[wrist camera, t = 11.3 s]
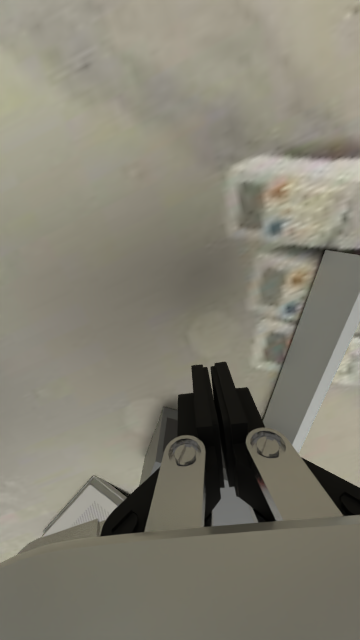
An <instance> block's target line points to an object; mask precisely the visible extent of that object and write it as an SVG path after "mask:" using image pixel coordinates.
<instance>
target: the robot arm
mask: <svg viewBox="0 0 360 640" xmlns="http://www.w3.org/2000/svg"><path fill="white" fill-rule="evenodd" d="M191 367H192V380H193V392H194V393H189V394H180V395H178V429H177V437H176V438H174V439H173V440H172V441H170V442H169V444H168V445H167V446H166V448H165V451H164V455H163V459H162V463H161V466H160V467H159V468H158V469H157V470H156V471H155V472H154V473H153V474H152V475H151V476H150V477H149V478H148V479H147V480H145V481H144V482H143V483H142V484H141V485H140V486H139V487H138V488H137V489H136V490H135V491H134V492H133V493H132V494H130V495H129V496H128V497H127V498H126V499H125V500H124V501H123V502H122V503H121V504H120V505H119V506H118V507H117V508H115V509H114V510H113V511H112V513H111V514H110V515H109V516H108V517H107V519H106V520H103V521H101V522H99V520H98V519H95V520H92V521H89V522H86V523H83V524H80V525H77V526H74V527H71V528H68V529H65V530H62V531H59V532H56V533H53V534H50V535H47V536H44V537H41V538H38V539H36V540H34V541H32V542H30V543H29V544H28V545H26V546H25V547H24V548H23V549H22V550H21V551H20V552H19V553H18V554H17V555H16V556H13V557H11V558H9V559H8V560H6V561H4V562H2V563H0V640H360V488H359V487H357V486H355V485H353V484H351V483H349V482H347V481H345V480H344V479H342V478H340V477H338V476H336V475H334V474H332V473H330V472H328V471H326V470H324V469H323V468H321V467H319V466H317V465H315V464H313V463H311V462H309V461H307V460H305V459H303V458H301V457H300V455H299V454H298V453H297V451H296V450H295V449H294V447H293V446H292V444H291V443H290V442H289V440H288V439H287V438H286V437H285V436H284V435H283V434H282V433H280V432H279V431H277V430H274V429H271V428H265V426H264V423H263V421H262V419H261V417H260V414H259V412H258V410H257V407H256V405H255V403H254V401H253V398H252V396H251V394H250V391H249V389H248V388H247V387H246V388H235V386H234V383H233V380H232V377H231V374H230V371H229V369H228V366H227V363H226V362H220V363H215V366H211V376H212V386H213V394H212V388H211V383H210V378H209V373H208V368H207V367H203V365H193V366H191ZM213 396H214V399H213ZM220 442H221V443H220ZM221 448H222V453H223V458H224V463H225V469H226V474H227V479H228V484H229V487H234V488H235V492H236V497H239V498H241V499H242V500H243V501H245V502H246V503H247V504H248V505H249V509H250V513H251V515H252V518H253V521H254V523H248V524H236V525H223V526H213V509H214V508H215V506H216V505H217V504H218V502H219V501H220V500H221V493H220V488H225V485H224V474H223V464H222V453H221Z"/></svg>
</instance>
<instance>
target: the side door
mask: <svg viewBox="0 0 360 640" xmlns="http://www.w3.org/2000/svg"><path fill="white" fill-rule="evenodd" d="M359 322H360V255H354V254H347V253H341V252H335V251H329V250H325V253H324V255H323V258H322V261H321V264H320V266H319V269H318V272H317V275H316V277H315V280H314V283H313V286H312V288H311V291H310V294H309V297H308V299H307V302H306V305H305V307H304V310H303V313H302V316H301V318H300V321H299V324H298V327H297V329H296V332H295V335H294V338H293V340H292V343H291V346H290V348H289V351H288V354H287V357H286V359H285V362H284V365H283V368H282V370H281V373H280V376H279V379H278V381H277V384H276V387H275V390H274V392H273V395H272V398H271V400H270V403H269V406H268V409H267V411H266V414H265V417H264V420H263V423H264V426H265V428H271V429H274V430H277V431H279V432H280V433H282V434H283V435H284V436H285V437H286V438H287V439H288V440H289V442H290V443H291V444H292V446H293V447H294V449H295V450H296V451H297V453H298V454H299V452H300V450H301V447H302V445H303V443H304V441H305V439H306V437H307V434H308V432H309V430H310V428H311V426H312V424H313V421H314V419H315V417H316V415H317V413H318V411H319V408H320V406H321V404H322V402H323V400H324V398H325V396H326V393H327V391H328V389H329V387H330V385H331V383H332V380H333V378H334V376H335V374H336V372H337V370H338V367H339V365H340V363H341V361H342V359H343V357H344V355H345V352H346V350H347V348H348V346H349V344H350V342H351V339H352V337H353V335H354V333H355V331H356V329H357V326H358V324H359Z"/></svg>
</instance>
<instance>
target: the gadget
mask: <svg viewBox="0 0 360 640" xmlns="http://www.w3.org/2000/svg"><path fill="white" fill-rule="evenodd" d="M126 498H127V497H126V496H124V495H123V494H122V493H120V492H119V491H118V490H117V489H115V488H114V487H113V486H112V485H110V484H109V483H108V482H106V481H104V480H102V479H100V478H98V477H97V476H95V475H94V476H93V477H92V478H91V479H90V480H89V481H88V482H87V483H86V484H85V485H84V487H83V488H82V489H81V490H80V491H79V492H78V493H77V494H76V495H75V497H74V498H73V499H72V500H71V501H70V502H69V503H68V504H67V505H66V507H65V508H64V509H63V510H62V511H61V512H60V513H59V514H58V515H57V517H56V518H55V519H54V520H53V521H52V522H51V523H50V524H49V525H48V527H47V528H46V529H45V530H44V531H43V533H44V534H43V536H42V537H44V536H47V535H50V534H53V533H56V532H59V531H62V530H65V529H68V528H71V527H74V526H77V525H80V524H83V523H86V522H89V521H92V520H95V519H98V520H99V522H101V521H103V520H106V519H107V517H108V516H109V515H110V514H111V513H112V511H113V510H114V509H115V508H117V507H118V506H119V505H120V504H121V503H122V502H123V501H124V500H125V499H126Z"/></svg>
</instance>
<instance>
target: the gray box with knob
mask: <svg viewBox="0 0 360 640" xmlns="http://www.w3.org/2000/svg"><path fill="white" fill-rule="evenodd" d="M177 429H178V411H177V410H174V409H170V408H167V407H163V410H162V413H161V415H160V418H159V421H158V423H157V426H156V429H155V432H154V434H153V437H152V440H151V443H150V445H149V448H148V451H147V454H146V456H145V460H144V465H143V470H142V475H141V480H140V485H141V484H142V483H143V482H144V481H145V480H147V479H148V478H149V477H150V476H151V475H152V474H153V473H154V472H155V471H156V470H157V469H158V468H159V467H160V466H161V463H162V459H163V455H164V451H165V448H166V446H167V445H168V444H169V442H170V441H172V440H173V439H174V438H176V437H177ZM220 443H221V442H220ZM221 453H222V448H221ZM222 464H223V474H224V485H225V488H220V493H221V500H220V501H219V502H218V504H217V505H216V506H215V508H214V509H213V526H223V525H236V524H248V523H254V521H253V518H252V515H251V513H250V509H249V505H248V504H247V503H246V502H245V501H243V500H242V499H241V498H239V497H236V492H235V488H234V487H229V484H228V479H227V474H226V469H225V463H224V458H223V453H222ZM140 485H139V486H140Z"/></svg>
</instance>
